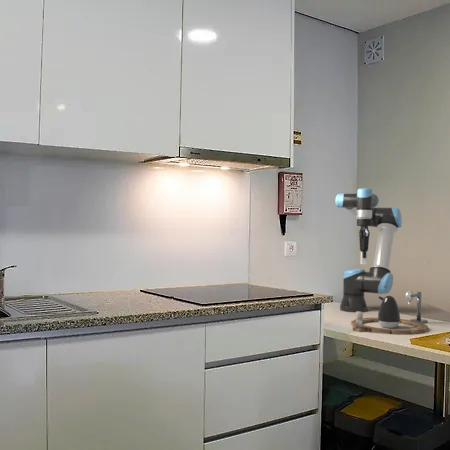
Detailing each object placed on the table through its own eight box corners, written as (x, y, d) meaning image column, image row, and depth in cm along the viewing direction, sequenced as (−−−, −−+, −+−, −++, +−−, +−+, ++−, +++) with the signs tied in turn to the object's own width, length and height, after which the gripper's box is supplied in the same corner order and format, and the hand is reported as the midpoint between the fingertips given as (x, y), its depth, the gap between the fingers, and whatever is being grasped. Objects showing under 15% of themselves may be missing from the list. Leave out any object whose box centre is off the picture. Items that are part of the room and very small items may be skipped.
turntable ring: (330, 324, 265) (330, 307, 265) (386, 318, 285) (386, 302, 285) (384, 337, 236) (384, 318, 236) (442, 329, 256) (442, 311, 256)
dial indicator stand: (417, 321, 280) (417, 288, 280) (427, 323, 275) (428, 290, 275) (400, 323, 272) (401, 290, 272) (411, 325, 267) (411, 291, 267)
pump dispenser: (382, 324, 269) (383, 293, 269) (403, 327, 263) (403, 295, 263) (373, 327, 261) (374, 295, 261) (394, 330, 255) (395, 297, 255)
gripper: (354, 218, 290) (353, 263, 290) (360, 218, 277) (359, 265, 277) (368, 218, 290) (367, 263, 290) (375, 218, 277) (374, 265, 277)
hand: (363, 264), depth 284 cm, fingers closed
